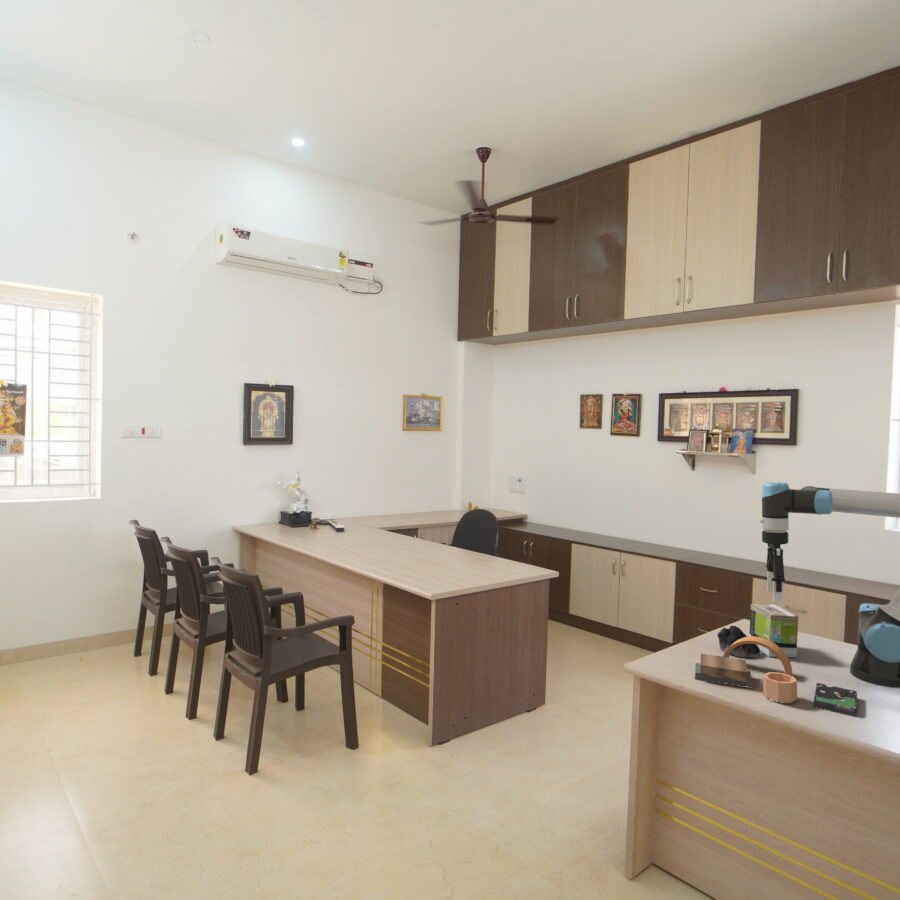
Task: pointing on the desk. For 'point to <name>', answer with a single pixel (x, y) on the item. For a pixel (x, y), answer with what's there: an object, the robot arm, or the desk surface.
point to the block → (722, 680)
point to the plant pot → (780, 687)
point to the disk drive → (836, 699)
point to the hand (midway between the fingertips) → (774, 596)
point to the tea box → (774, 627)
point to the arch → (766, 644)
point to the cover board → (723, 667)
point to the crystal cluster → (734, 634)
